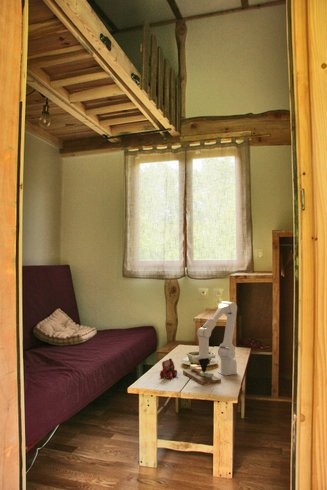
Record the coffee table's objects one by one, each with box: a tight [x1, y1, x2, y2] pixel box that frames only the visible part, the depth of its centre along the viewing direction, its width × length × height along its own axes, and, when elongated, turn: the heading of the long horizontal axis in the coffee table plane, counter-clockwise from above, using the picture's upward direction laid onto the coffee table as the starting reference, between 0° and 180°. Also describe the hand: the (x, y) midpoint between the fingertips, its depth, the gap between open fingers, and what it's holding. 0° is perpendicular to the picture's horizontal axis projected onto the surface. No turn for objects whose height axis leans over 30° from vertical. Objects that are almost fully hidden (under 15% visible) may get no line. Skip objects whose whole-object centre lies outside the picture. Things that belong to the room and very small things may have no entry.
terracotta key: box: [195, 366, 202, 374], centre depth 239 cm, size 4×4×4 cm
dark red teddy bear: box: [159, 357, 178, 380], centre depth 238 cm, size 7×12×10 cm, turn 147°
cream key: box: [189, 364, 200, 372], centre depth 245 cm, size 4×4×4 cm
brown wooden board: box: [182, 368, 222, 386], centre depth 236 cm, size 12×25×2 cm, turn 23°
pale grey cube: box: [204, 371, 214, 380], centre depth 228 cm, size 4×4×4 cm
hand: (203, 371), depth 234 cm, fingers closed
